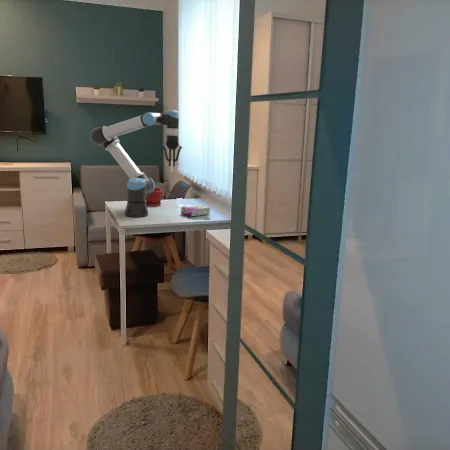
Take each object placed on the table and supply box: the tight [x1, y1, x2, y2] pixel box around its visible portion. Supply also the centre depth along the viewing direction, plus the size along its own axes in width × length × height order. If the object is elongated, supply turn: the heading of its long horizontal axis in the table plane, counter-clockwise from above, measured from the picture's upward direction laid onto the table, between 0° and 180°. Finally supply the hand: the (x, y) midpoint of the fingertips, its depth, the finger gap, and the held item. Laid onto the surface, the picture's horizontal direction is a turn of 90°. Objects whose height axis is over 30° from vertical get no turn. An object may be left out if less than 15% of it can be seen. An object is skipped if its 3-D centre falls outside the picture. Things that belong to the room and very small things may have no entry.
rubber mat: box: [188, 214, 211, 220], centre depth 288 cm, size 13×12×1 cm
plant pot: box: [146, 187, 164, 207], centre depth 318 cm, size 13×13×12 cm
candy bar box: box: [180, 205, 211, 217], centre depth 294 cm, size 11×5×16 cm
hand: (171, 171), depth 289 cm, fingers closed
